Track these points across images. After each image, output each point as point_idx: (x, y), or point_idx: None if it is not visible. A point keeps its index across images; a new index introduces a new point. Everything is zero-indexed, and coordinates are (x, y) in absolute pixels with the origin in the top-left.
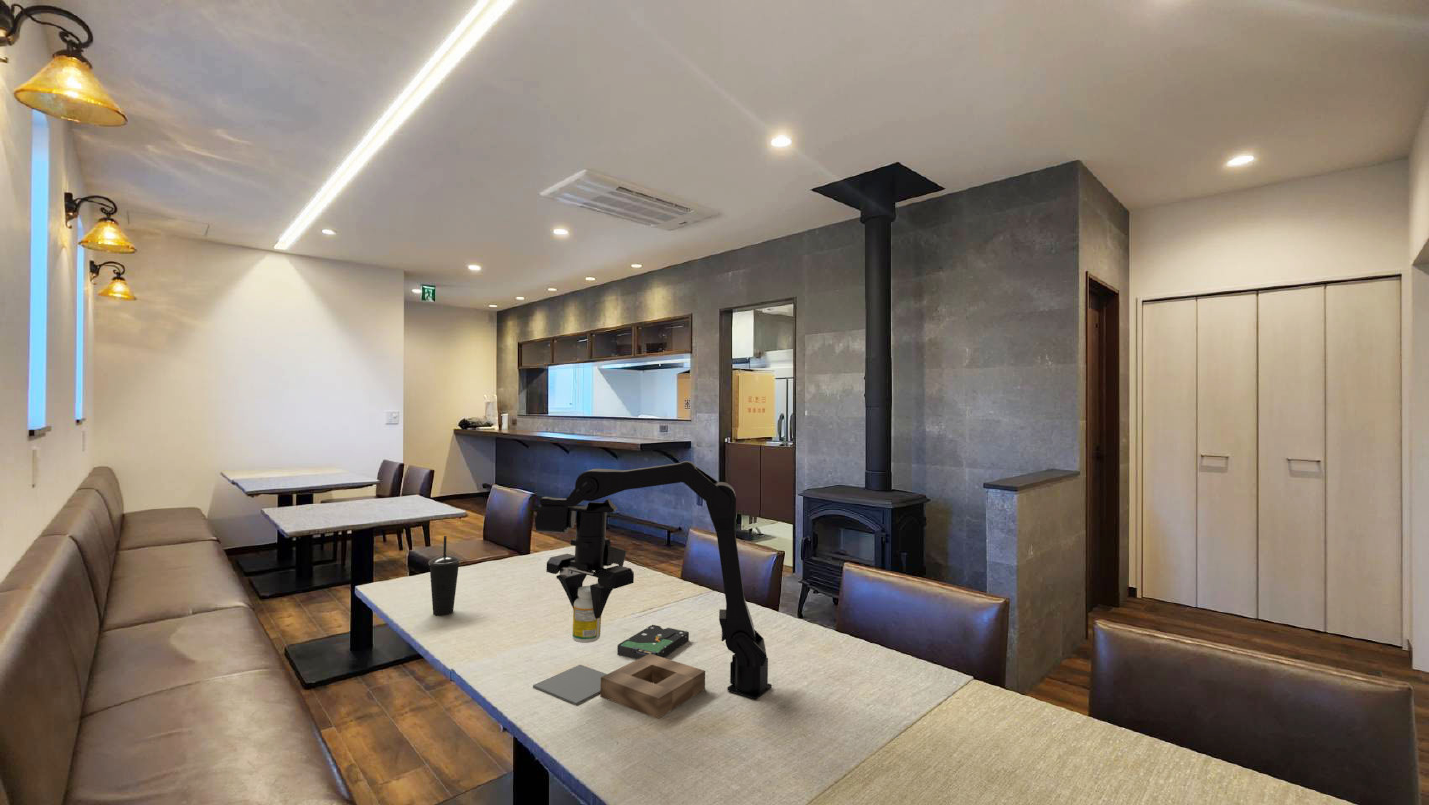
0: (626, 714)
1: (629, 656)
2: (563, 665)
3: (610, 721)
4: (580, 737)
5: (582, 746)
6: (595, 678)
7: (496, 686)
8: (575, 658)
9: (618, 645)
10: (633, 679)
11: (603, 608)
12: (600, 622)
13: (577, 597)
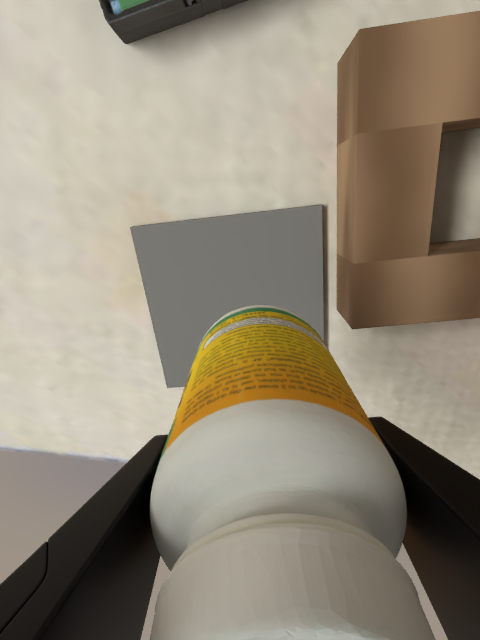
0: (458, 324)
1: (180, 21)
2: (91, 257)
3: (443, 367)
4: (429, 436)
5: (455, 450)
6: (252, 259)
7: (108, 428)
8: (62, 194)
9: (114, 22)
10: (456, 269)
11: (440, 459)
12: (335, 364)
13: (136, 553)
